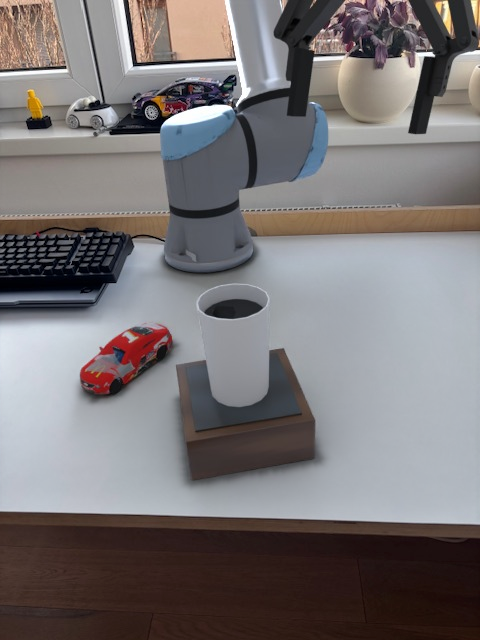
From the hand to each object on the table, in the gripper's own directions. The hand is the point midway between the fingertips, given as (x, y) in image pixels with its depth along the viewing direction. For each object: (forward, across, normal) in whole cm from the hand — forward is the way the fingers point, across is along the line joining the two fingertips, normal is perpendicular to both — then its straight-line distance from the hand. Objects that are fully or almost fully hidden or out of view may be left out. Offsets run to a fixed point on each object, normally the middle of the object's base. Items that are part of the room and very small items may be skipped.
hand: (352, 124), depth 55 cm
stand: (+30, 0, +14) cm, 33 cm away
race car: (+31, +18, +13) cm, 38 cm away
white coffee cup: (+25, 0, +15) cm, 29 cm away
